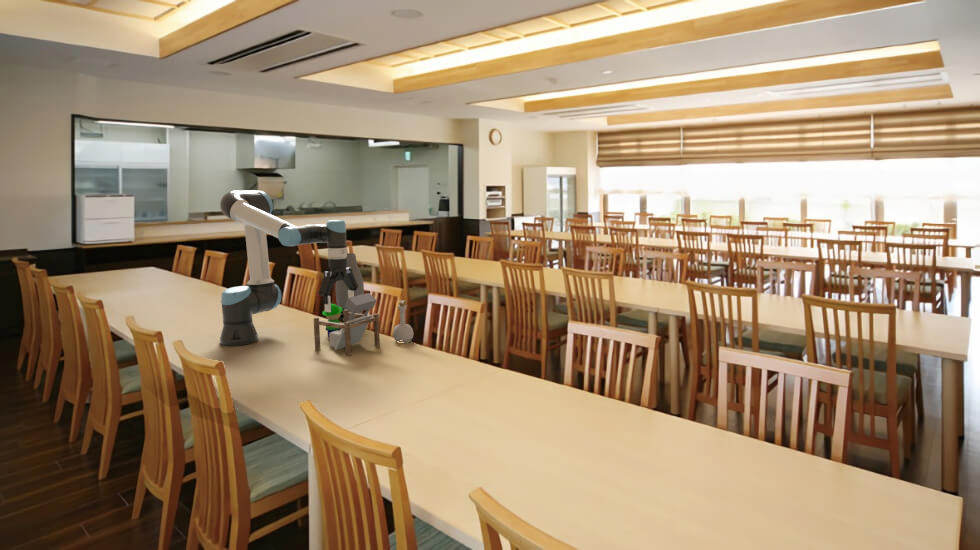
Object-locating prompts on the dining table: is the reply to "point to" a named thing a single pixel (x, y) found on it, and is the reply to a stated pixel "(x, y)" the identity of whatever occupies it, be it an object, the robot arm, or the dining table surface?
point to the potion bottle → (403, 326)
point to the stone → (334, 338)
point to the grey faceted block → (355, 306)
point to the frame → (347, 329)
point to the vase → (342, 287)
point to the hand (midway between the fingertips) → (339, 308)
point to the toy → (334, 317)
